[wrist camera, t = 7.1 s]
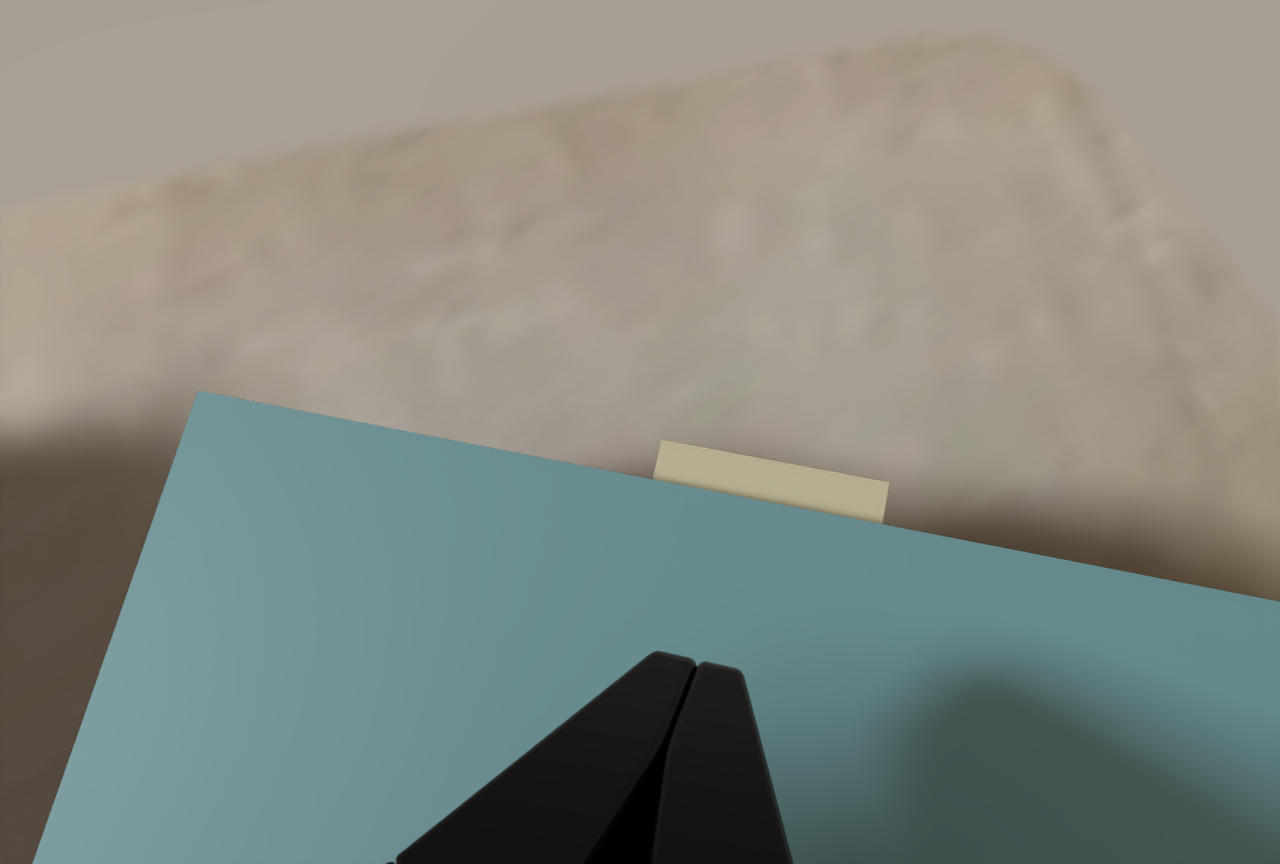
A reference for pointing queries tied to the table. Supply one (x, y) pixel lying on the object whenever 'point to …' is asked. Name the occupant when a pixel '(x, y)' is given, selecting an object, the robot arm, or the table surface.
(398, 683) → the lid
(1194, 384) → the table surface
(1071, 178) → the table surface
